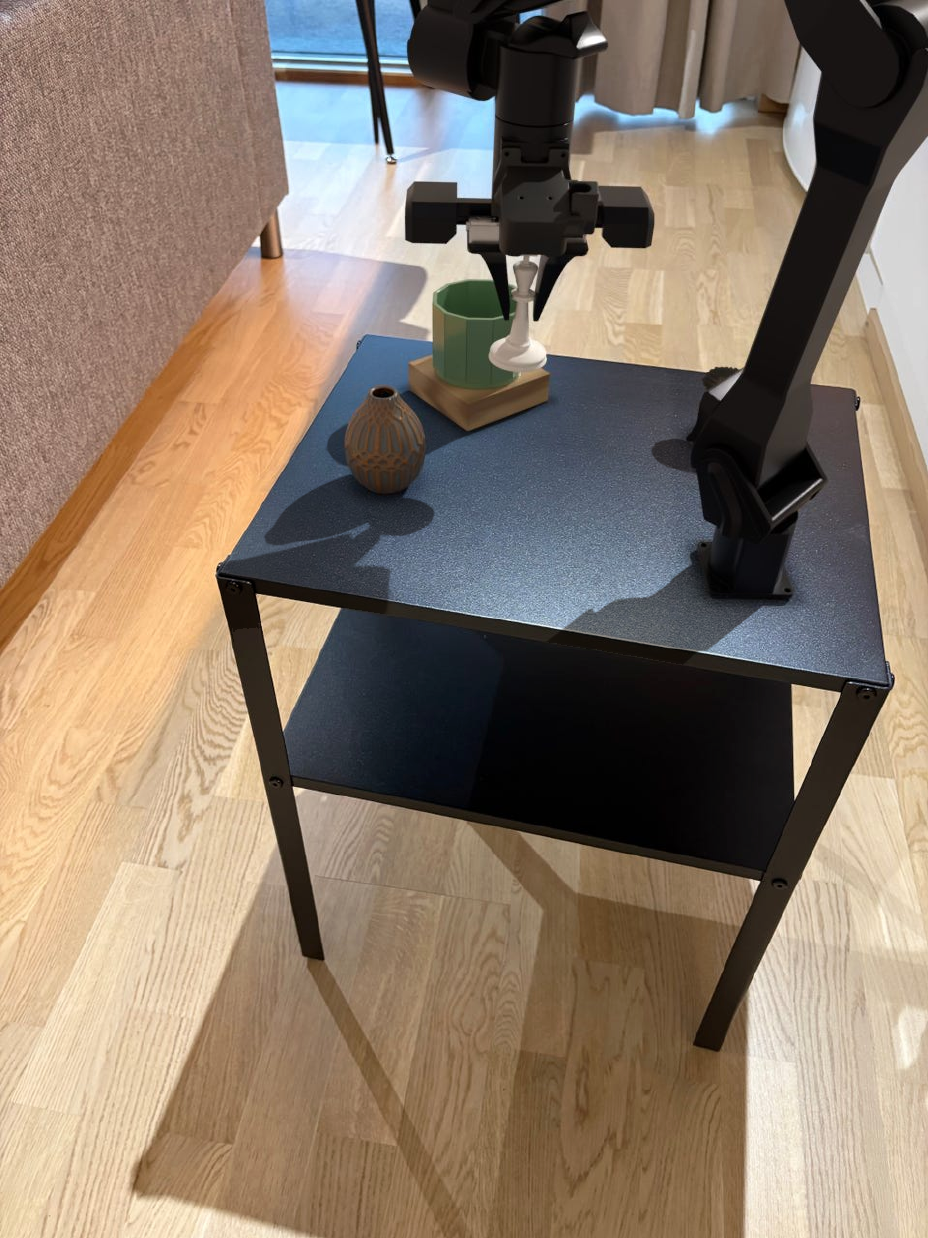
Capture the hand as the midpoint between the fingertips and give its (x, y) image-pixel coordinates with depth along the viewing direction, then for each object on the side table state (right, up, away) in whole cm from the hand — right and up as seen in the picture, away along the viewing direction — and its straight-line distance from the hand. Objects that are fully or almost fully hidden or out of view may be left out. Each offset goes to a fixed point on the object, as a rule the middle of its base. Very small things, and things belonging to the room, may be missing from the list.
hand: (520, 319), depth 83 cm
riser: (-3, -2, +17) cm, 18 cm away
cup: (-3, 0, +15) cm, 16 cm away
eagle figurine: (+22, -8, +12) cm, 26 cm away
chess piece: (0, -3, +2) cm, 4 cm away
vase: (-11, -13, +6) cm, 18 cm away
